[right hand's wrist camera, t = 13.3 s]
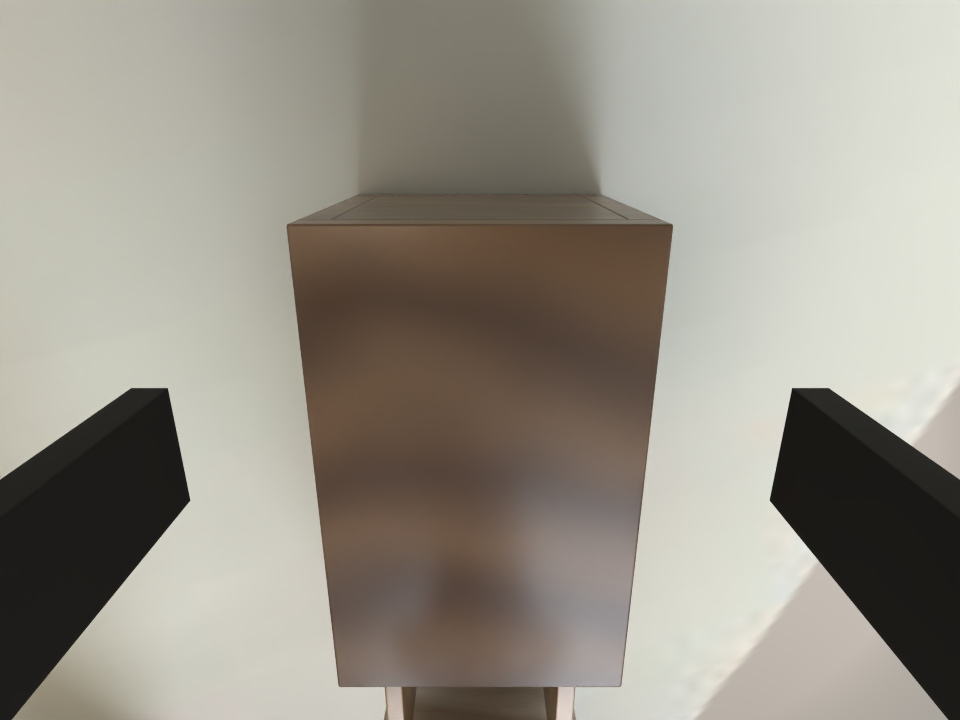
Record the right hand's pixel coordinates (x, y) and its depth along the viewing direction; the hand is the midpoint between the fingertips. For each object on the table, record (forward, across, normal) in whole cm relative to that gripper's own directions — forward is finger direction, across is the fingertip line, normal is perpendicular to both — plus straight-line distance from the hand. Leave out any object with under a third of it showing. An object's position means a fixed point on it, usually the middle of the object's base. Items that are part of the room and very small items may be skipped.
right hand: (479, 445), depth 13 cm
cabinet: (+18, 0, -6) cm, 19 cm away
